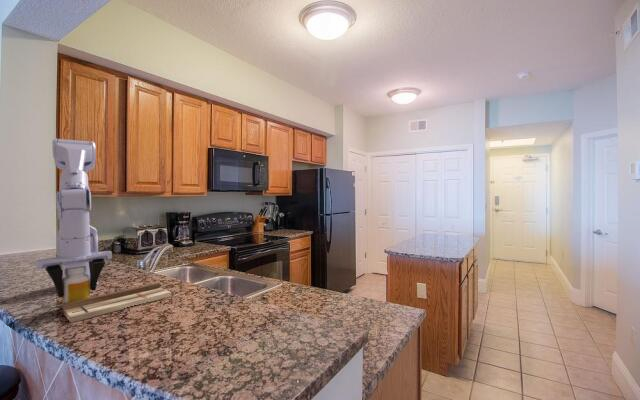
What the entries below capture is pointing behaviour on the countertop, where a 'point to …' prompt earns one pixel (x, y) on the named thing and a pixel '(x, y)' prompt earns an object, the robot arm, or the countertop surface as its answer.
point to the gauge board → (113, 301)
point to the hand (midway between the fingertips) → (77, 292)
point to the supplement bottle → (75, 284)
